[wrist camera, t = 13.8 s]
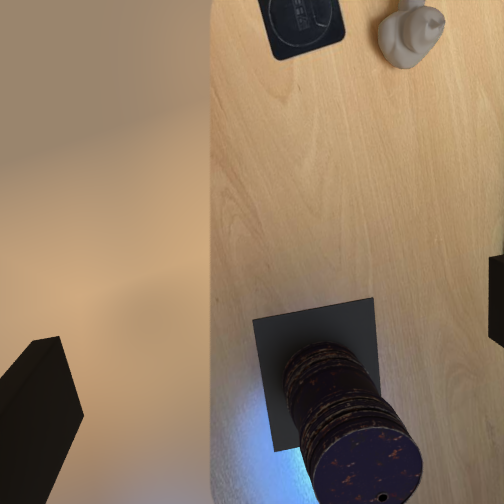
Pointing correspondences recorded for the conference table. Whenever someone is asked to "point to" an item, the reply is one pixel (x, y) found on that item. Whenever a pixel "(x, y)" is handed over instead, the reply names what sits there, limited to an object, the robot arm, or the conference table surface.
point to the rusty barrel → (348, 430)
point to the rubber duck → (410, 33)
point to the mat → (305, 333)
